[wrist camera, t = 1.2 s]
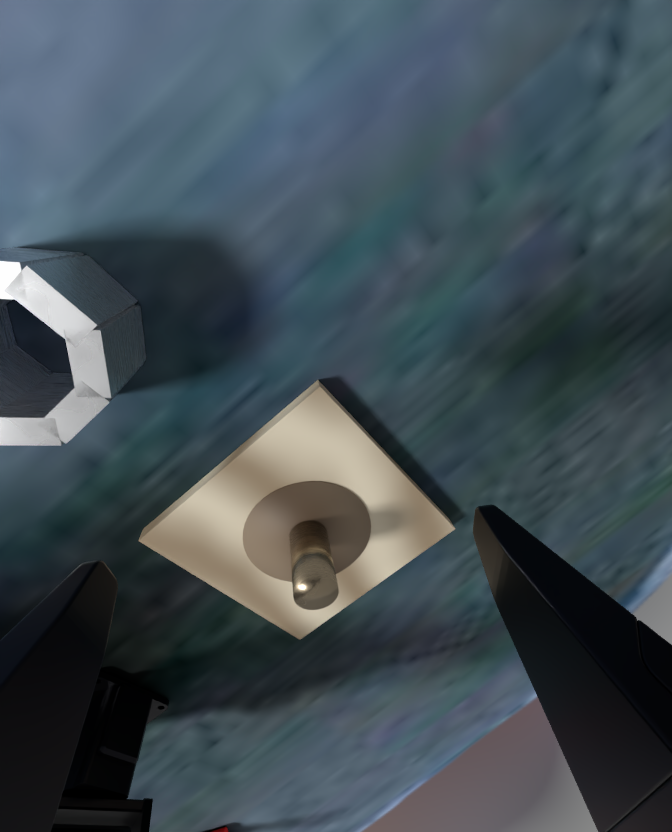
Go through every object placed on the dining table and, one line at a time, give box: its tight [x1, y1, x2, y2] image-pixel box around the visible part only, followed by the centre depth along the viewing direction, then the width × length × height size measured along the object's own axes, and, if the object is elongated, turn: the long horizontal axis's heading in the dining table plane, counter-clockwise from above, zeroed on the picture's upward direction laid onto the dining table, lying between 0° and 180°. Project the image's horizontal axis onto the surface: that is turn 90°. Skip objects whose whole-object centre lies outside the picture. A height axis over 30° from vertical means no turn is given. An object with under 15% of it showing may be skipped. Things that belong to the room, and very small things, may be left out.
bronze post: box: [289, 520, 339, 610], centre depth 23 cm, size 2×2×4 cm
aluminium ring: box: [0, 247, 146, 445], centre depth 16 cm, size 7×7×5 cm
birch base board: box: [139, 380, 455, 640], centre depth 25 cm, size 14×14×1 cm
